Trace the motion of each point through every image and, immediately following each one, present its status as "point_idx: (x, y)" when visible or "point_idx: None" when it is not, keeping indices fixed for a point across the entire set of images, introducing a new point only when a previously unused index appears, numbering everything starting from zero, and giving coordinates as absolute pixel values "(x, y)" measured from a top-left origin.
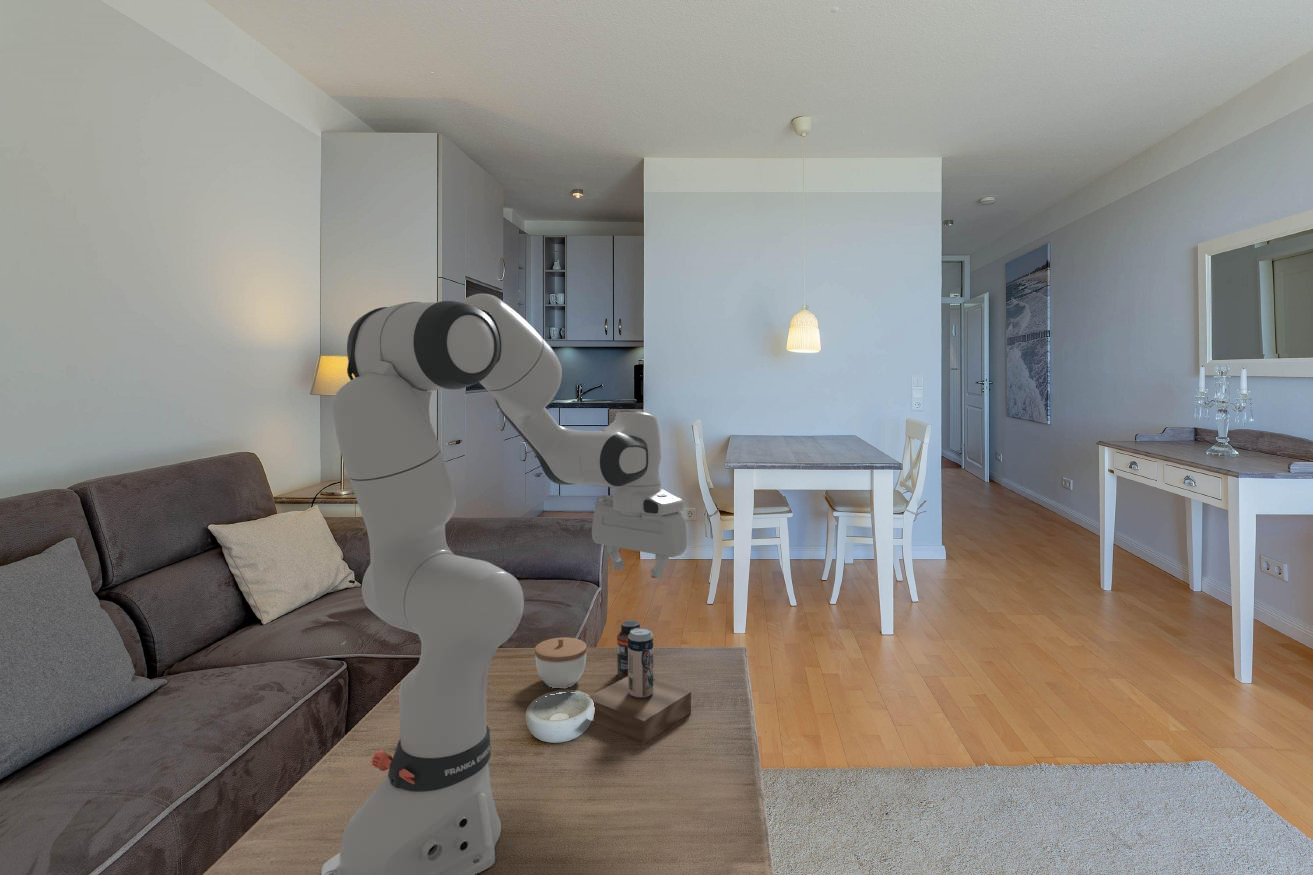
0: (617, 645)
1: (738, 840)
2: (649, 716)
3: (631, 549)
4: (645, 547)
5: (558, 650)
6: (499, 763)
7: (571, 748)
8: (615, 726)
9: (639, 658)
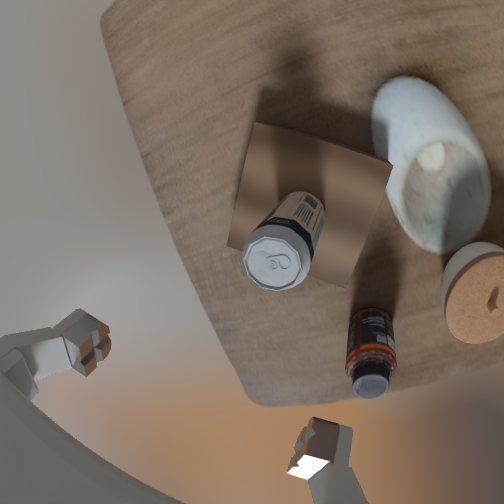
0: (393, 348)
1: (114, 25)
2: (252, 139)
3: (121, 472)
4: (2, 412)
5: (490, 284)
6: (432, 12)
7: (363, 69)
8: (322, 138)
9: (276, 212)
